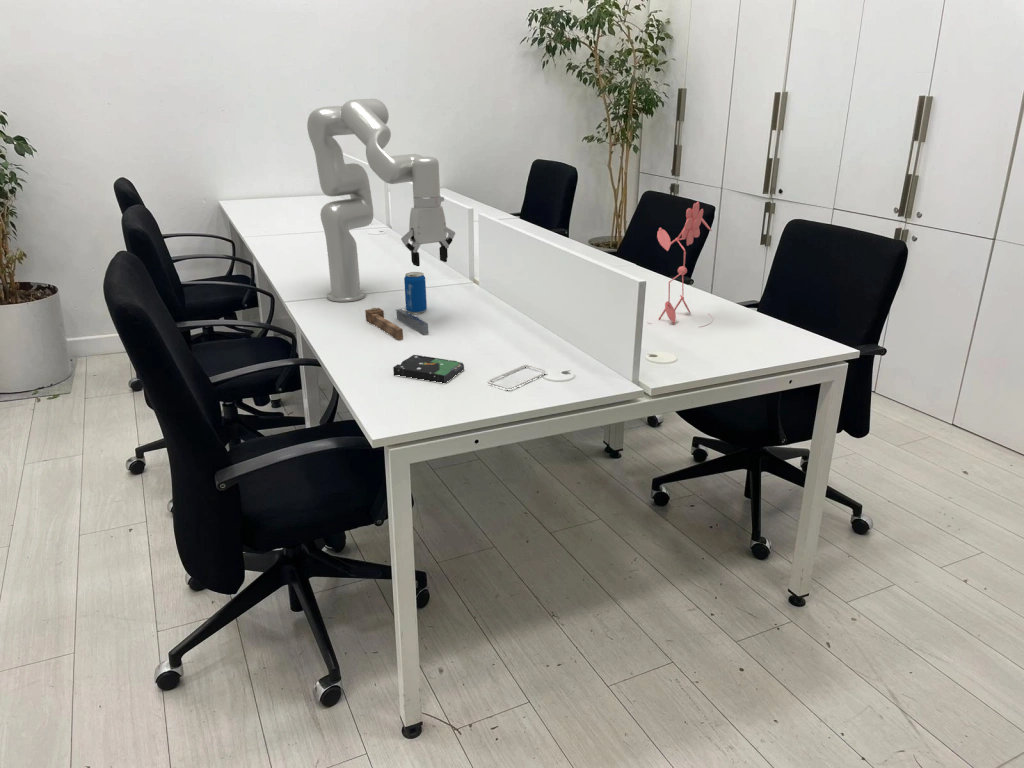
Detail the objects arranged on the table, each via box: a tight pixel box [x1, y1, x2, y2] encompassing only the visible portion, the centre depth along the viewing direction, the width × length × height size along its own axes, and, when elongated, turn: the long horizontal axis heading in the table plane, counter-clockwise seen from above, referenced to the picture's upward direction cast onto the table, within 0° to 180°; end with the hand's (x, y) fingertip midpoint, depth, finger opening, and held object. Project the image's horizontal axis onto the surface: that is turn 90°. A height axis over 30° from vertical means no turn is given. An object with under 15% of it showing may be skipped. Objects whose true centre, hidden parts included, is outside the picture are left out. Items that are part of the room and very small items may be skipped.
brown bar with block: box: [364, 307, 404, 341], centre depth 225 cm, size 22×4×4 cm, turn 33°
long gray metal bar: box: [395, 308, 429, 335], centre depth 227 cm, size 18×2×3 cm, turn 33°
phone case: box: [486, 364, 548, 389], centre depth 189 cm, size 7×1×15 cm
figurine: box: [646, 200, 713, 328], centre depth 225 cm, size 15×26×35 cm, turn 142°
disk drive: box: [392, 354, 465, 384], centre depth 193 cm, size 10×3×15 cm
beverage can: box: [403, 271, 428, 314], centre depth 240 cm, size 6×6×12 cm
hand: (430, 263), depth 225 cm, fingers open, 8 cm apart
